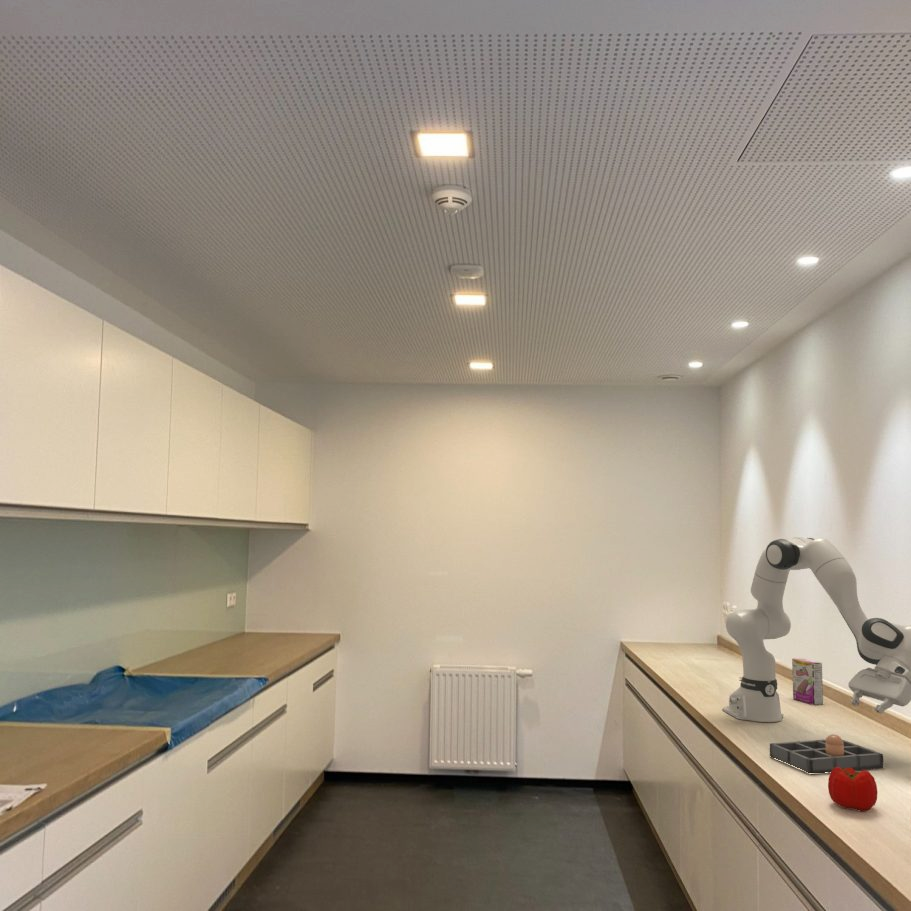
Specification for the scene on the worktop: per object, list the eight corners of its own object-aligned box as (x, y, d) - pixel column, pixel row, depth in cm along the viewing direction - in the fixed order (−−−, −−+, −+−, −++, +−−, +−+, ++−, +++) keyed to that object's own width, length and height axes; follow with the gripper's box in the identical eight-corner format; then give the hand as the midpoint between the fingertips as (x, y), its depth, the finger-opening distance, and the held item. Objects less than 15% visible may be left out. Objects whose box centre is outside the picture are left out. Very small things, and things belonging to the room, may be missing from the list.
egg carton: (769, 757, 238) (769, 743, 238) (839, 751, 244) (839, 738, 244) (809, 774, 221) (809, 759, 221) (883, 768, 228) (882, 754, 228)
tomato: (882, 806, 197) (881, 768, 197) (869, 819, 188) (868, 779, 188) (837, 796, 204) (836, 759, 204) (822, 808, 195) (821, 770, 196)
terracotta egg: (822, 761, 231) (821, 733, 231) (836, 760, 232) (835, 732, 233) (834, 765, 226) (833, 737, 227) (848, 764, 227) (847, 736, 228)
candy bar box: (792, 699, 319) (791, 658, 320) (801, 698, 320) (800, 657, 322) (814, 705, 308) (813, 662, 310) (823, 704, 310) (822, 662, 312)
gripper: (859, 659, 246) (833, 693, 243) (912, 671, 226) (885, 708, 223) (871, 674, 247) (846, 707, 244) (925, 687, 227) (899, 723, 224)
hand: (865, 708), depth 233 cm, fingers open, 8 cm apart
